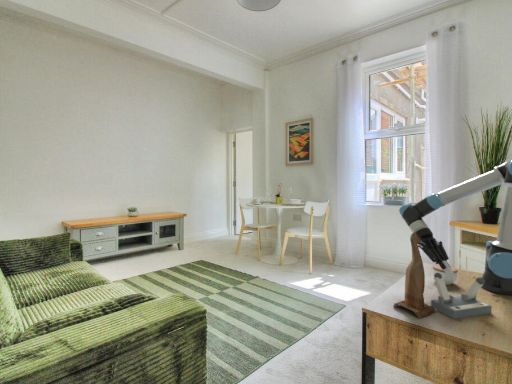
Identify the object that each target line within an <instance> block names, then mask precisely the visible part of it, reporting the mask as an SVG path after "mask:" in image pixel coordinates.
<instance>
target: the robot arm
mask: <svg viewBox="0 0 512 384" xmlns="http://www.w3.org/2000/svg"><path fill="white" fill-rule="evenodd" d="M501 185H505V186H506V187H507V189H506V194H505V195H506V196H505V200H504V203H503V208H502V212H501V218H500V221H499V227H498V231H497V237H496V239H495V240H487V242H486V245H485V262H484V271H483V274H482V275H481V278H483V279H484V281H485V283H484V284H483V285H482V287H481V288H482V289H484V290H486V291H489V292H492V293H497V294H500V295H507V296H512V157H511V158H509V159H508V160H506V161H505V162H503V163H502V164H499V165H497V166H494V167H493V169H492V170H489V171H487V172H485V173H483V174H479V175H478V176H475V177H473V178H469V179H468V180H465V181H463V182H461V183H458V184H456V185H453V186H450V187H449V188H448V187H447V188H446V189H444V190H441V191H438V192H437V193H435V192H434V193H431V194H430V195H427V196H426V197H424V198H422V199H421V200H420V201H418V202H417V203H415V204H412V203H406V204H403V205H402V206H400V207H399V210H398V211H399V214H400V216H401V218H402V219H403V220H404V222H405V223H406V225H407V226H408V228H409V229H410V231H411V233H414V232H415V233H416V234H417V236H418V237H419V238H420V241H421V245H419V244H417V245H418V248H419V249H421V250H422V252H423V253H424V254H425V255H426V256H427V257H428V258H429V260H430V261H431V262H432V263H435V265H440V267H441V268H442V269H443V270H444V272H445V273H446V275H447V276H448V277H451V276H452V275H454V272H453V271H452V269H451V268H450V266H451V265H450V263H448V260H450V257H449V256H448V254H447V251H446V249H445V248H444V245H443V242H442V241H441V240H440V241H439V240H437V239H436V238H435V237H434V233H433V232H432V231H431V229H430V228H429V225H428V224H427V223H426V222H425V220H424V218H426V216H428V215H430V214H432V213H433V212H434V211H435V212H436V211H437V210H439V209H440V208H442V207H444V206H448V205H450V204H453V203H455V202H458V201H461V200H464V199H467V198H469V197H472V196H474V195H477V194H480V193H482V192H484V191H485V192H486V191H487V190H491V189H493V188H495V187H499V186H501Z"/></svg>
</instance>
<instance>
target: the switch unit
mask: <svg viewBox="0 0 512 384" xmlns="http://www.w3.org/2000/svg"><path fill="white" fill-rule="evenodd" d="M449 297H450V299H451V302H445V303H444V298H443V297H441V296H440V295H438V298H437V299H436V298H435V299H431V300H430V306H432V307H434V308H435V311H438V312H440V313H442V314H443V315H446V316H447V317H449V318H451V319H452V320H457V319H462V318H464V319H465V318H468V317H475V316H481V315H489V314H492V305H491V304H488V303H486V302H483V301H482V300H479V299H477V294H476V295H475V297H474V298H473V299H467V295H466V293H464V292H462V293H461V295H459V296H453V295H450V294H449Z"/></svg>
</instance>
